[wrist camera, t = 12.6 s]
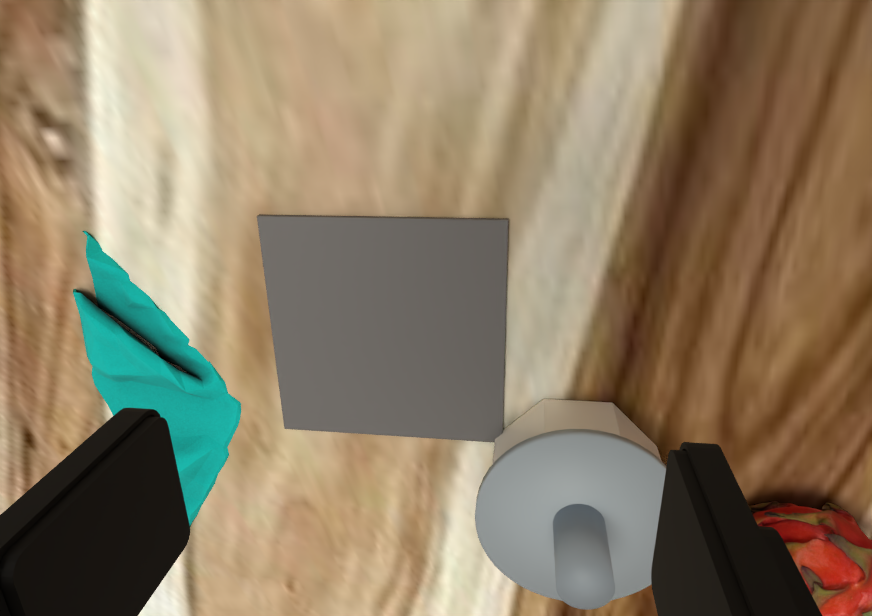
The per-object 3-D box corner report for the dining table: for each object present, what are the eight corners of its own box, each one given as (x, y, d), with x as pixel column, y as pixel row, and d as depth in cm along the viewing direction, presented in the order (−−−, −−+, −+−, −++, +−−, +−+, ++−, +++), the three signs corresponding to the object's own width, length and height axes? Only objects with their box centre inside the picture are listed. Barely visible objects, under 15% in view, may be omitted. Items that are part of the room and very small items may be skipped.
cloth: (252, 540, 52) (241, 561, 50) (99, 514, 53) (81, 532, 51) (241, 244, 42) (227, 254, 40) (52, 220, 43) (28, 228, 41)
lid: (698, 435, 36) (727, 501, 31) (672, 601, 41) (693, 682, 36) (475, 423, 38) (467, 483, 33) (476, 583, 43) (468, 659, 38)
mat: (508, 218, 38) (508, 220, 38) (502, 439, 44) (502, 442, 44) (259, 214, 40) (257, 216, 40) (286, 425, 46) (284, 428, 46)
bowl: (662, 405, 41) (678, 449, 37) (644, 535, 45) (657, 589, 41) (496, 396, 43) (492, 437, 38) (493, 522, 47) (489, 573, 42)
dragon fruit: (866, 547, 45) (701, 486, 47) (953, 521, 38) (752, 450, 40) (863, 674, 41) (682, 601, 43) (960, 672, 34) (735, 584, 36)
